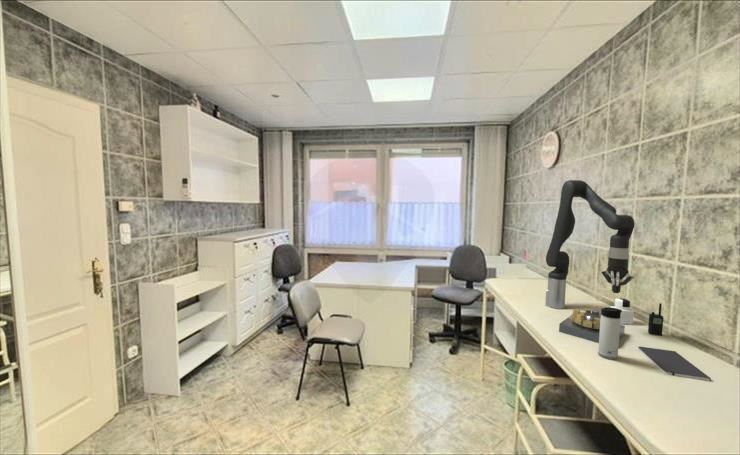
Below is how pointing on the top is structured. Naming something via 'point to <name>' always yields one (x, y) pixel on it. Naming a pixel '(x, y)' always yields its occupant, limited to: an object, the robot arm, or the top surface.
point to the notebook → (673, 363)
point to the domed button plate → (584, 328)
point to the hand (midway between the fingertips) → (616, 292)
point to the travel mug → (609, 333)
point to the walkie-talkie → (656, 323)
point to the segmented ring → (580, 319)
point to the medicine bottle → (624, 310)
